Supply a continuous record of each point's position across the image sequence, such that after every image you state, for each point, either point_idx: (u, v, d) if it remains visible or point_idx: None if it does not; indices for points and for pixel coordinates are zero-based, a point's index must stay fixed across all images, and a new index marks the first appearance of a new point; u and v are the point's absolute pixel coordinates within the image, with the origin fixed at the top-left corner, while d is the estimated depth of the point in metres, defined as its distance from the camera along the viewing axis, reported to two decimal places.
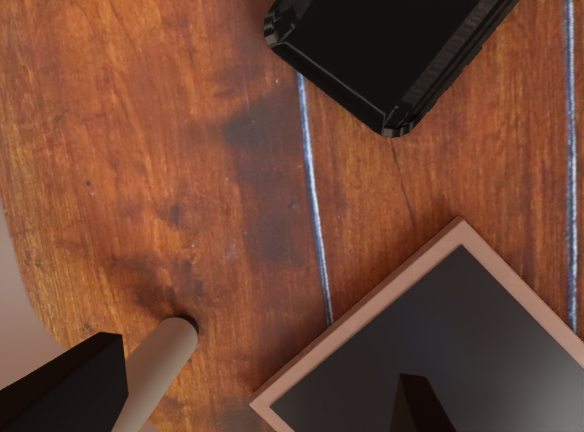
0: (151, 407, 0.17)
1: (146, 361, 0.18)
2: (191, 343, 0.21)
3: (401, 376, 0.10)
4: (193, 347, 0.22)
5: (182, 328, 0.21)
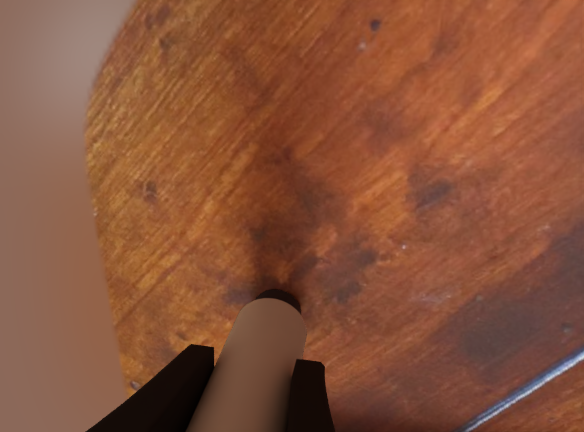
0: None
1: (282, 431, 0.10)
2: None
3: (296, 361, 0.11)
4: None
5: (303, 345, 0.13)
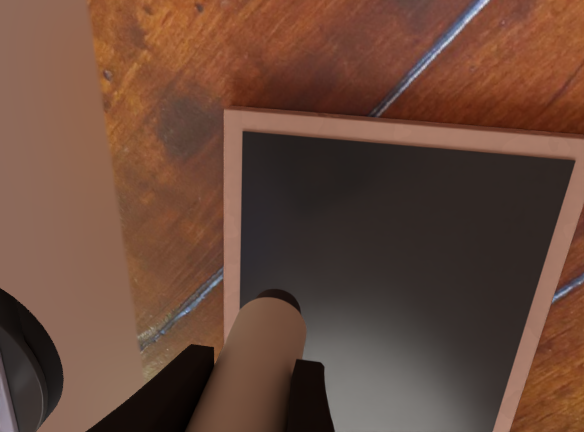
0: None
1: (281, 430, 0.10)
2: None
3: (296, 361, 0.11)
4: None
5: (303, 344, 0.13)
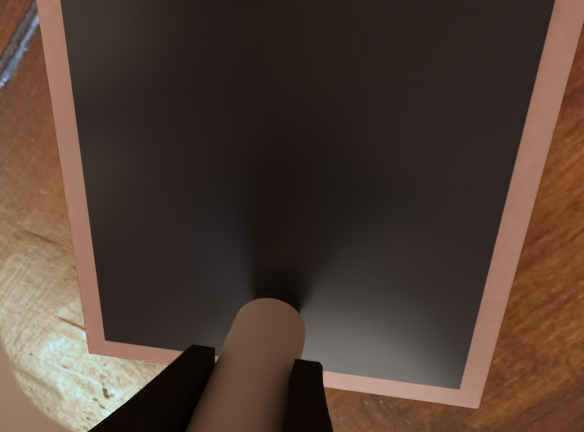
0: None
1: (281, 431, 0.09)
2: None
3: (294, 361, 0.11)
4: None
5: (302, 345, 0.13)
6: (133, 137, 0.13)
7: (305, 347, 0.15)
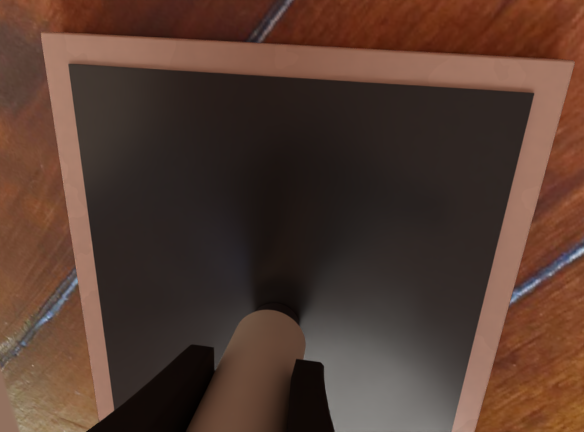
0: None
1: None
2: None
3: (295, 361, 0.11)
4: None
5: (302, 357, 0.13)
6: None
7: None
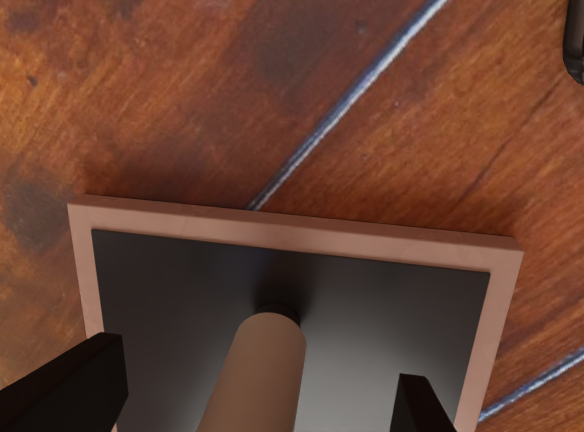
0: None
1: None
2: None
3: (400, 376, 0.10)
4: None
5: (304, 359, 0.13)
6: None
7: None
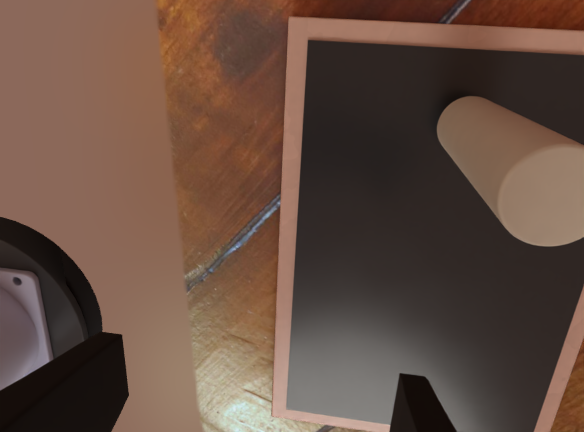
0: None
1: None
2: None
3: (401, 376, 0.10)
4: None
5: None
6: (330, 292, 0.21)
7: None
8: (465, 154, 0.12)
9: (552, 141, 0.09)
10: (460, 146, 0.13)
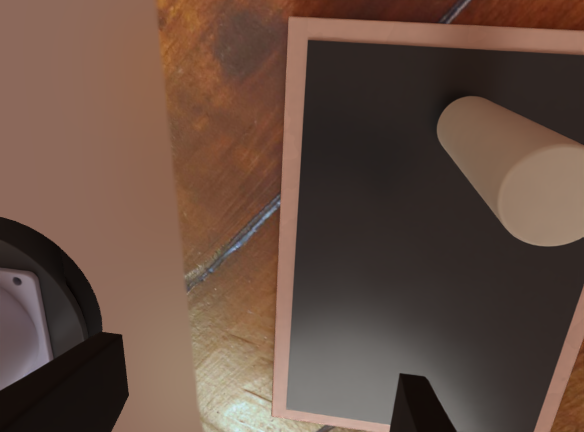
0: None
1: None
2: None
3: (401, 376, 0.10)
4: None
5: None
6: (330, 292, 0.21)
7: None
8: (465, 154, 0.12)
9: (552, 141, 0.09)
10: (460, 146, 0.13)
